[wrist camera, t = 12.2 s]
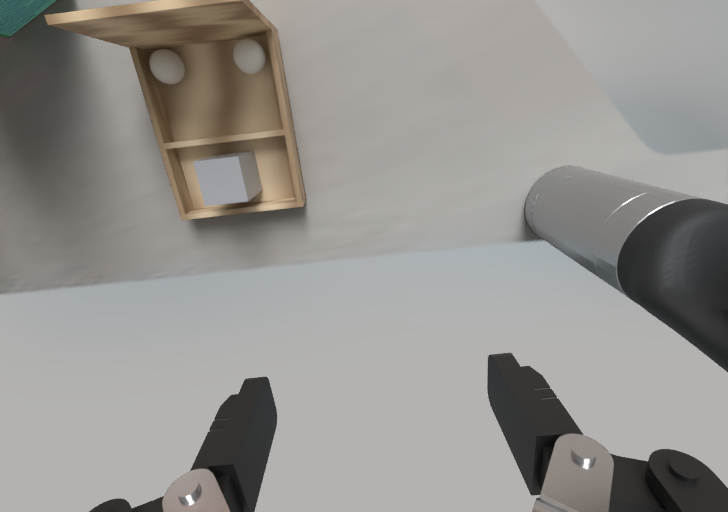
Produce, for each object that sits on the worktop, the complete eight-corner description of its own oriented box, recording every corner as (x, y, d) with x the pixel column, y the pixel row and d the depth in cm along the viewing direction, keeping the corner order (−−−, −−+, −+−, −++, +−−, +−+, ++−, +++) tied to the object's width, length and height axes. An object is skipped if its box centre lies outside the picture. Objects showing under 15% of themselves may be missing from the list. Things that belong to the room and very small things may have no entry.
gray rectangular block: (254, 150, 41) (238, 156, 36) (262, 189, 43) (248, 201, 38) (215, 155, 42) (192, 161, 36) (224, 194, 43) (205, 206, 38)
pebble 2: (266, 39, 37) (258, 33, 34) (272, 74, 39) (265, 70, 36) (235, 43, 38) (224, 37, 35) (242, 77, 39) (232, 74, 36)
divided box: (277, 29, 38) (239, -10, 26) (306, 200, 44) (287, 234, 32) (144, 45, 38) (44, 15, 26) (192, 213, 45) (131, 251, 33)
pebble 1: (185, 49, 38) (170, 44, 35) (194, 83, 39) (180, 81, 36) (155, 53, 38) (137, 48, 35) (164, 87, 39) (148, 85, 36)
